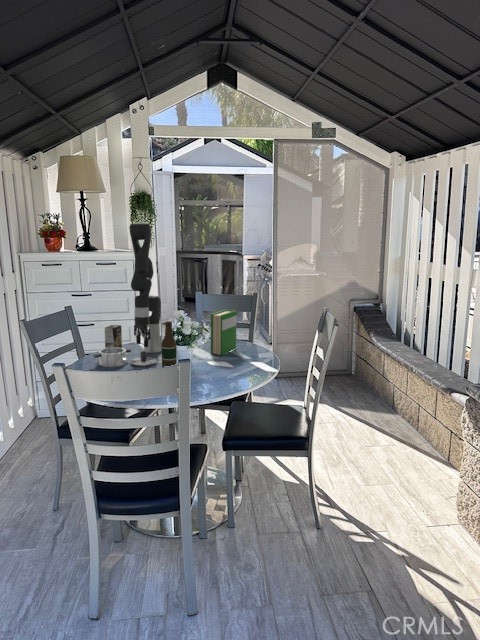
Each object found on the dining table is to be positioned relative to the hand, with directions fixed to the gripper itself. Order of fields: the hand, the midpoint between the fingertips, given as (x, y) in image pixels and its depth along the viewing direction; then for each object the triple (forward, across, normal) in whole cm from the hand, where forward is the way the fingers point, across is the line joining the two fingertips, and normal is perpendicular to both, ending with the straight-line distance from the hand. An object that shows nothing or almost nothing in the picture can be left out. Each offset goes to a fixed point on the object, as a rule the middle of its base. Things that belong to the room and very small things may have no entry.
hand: (142, 345), depth 245 cm
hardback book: (+9, -6, -50) cm, 51 cm away
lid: (+10, 0, -1) cm, 10 cm away
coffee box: (+10, +28, +4) cm, 30 cm away
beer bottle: (+10, -13, -9) cm, 19 cm away
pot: (+10, +10, +12) cm, 19 cm away
